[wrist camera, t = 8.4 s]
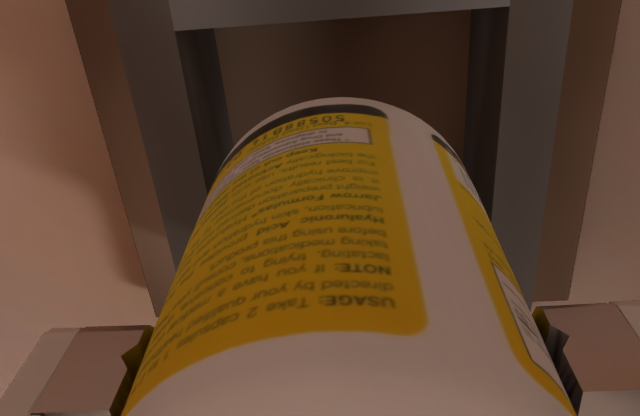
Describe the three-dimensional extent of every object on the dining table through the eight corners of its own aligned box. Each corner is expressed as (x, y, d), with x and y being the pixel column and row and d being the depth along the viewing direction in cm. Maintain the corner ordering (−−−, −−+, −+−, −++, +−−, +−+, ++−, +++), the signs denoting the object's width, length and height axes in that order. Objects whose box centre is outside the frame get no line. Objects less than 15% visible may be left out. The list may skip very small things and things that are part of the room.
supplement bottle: (174, 258, 13) (-166, 1041, 4) (280, 38, 10) (-16, 840, 2) (386, 347, 14) (468, 1106, 5) (526, 168, 11) (1118, 1046, 3)
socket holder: (635, -215, 13) (771, -258, 9) (556, 278, 20) (612, 380, 16) (42, -158, 14) (-81, -173, 10) (165, 295, 21) (122, 396, 17)
